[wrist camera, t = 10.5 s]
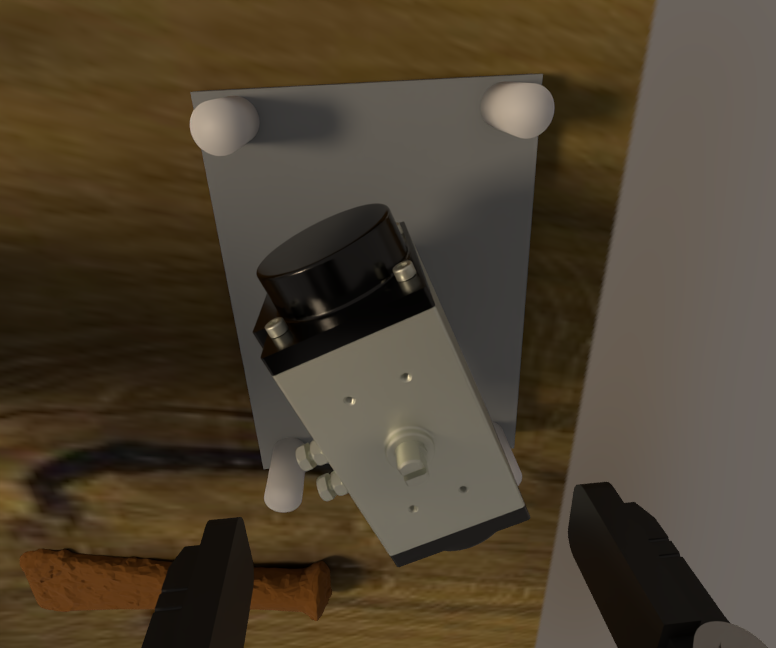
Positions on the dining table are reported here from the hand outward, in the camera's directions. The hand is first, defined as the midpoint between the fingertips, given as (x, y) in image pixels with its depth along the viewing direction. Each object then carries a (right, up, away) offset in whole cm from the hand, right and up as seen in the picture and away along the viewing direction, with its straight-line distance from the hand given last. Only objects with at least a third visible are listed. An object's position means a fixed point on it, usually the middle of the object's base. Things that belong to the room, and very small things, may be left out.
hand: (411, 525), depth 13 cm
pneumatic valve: (-1, +6, +12) cm, 14 cm away
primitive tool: (-14, -12, +22) cm, 29 cm away
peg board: (-1, +7, +14) cm, 15 cm away
